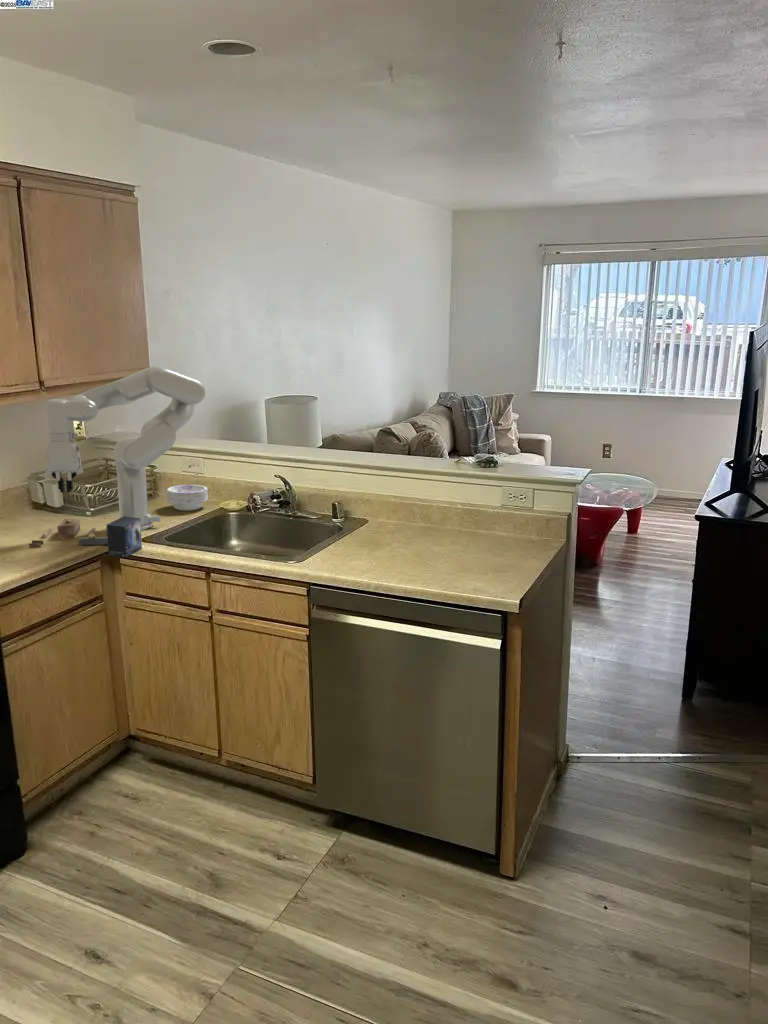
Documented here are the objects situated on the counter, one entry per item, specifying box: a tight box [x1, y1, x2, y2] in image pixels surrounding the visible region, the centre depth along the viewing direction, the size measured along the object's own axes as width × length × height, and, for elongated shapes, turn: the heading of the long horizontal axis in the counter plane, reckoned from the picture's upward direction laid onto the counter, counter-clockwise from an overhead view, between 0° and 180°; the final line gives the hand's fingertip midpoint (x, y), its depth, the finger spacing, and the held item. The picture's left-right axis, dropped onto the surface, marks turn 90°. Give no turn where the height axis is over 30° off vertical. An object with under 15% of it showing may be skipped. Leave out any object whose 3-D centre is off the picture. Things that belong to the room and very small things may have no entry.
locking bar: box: [78, 533, 108, 546], centre depth 255 cm, size 12×2×3 cm, turn 98°
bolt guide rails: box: [42, 527, 97, 539], centre depth 265 cm, size 16×7×1 cm, turn 98°
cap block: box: [57, 518, 81, 539], centre depth 265 cm, size 5×9×5 cm, turn 8°
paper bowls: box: [166, 484, 209, 512], centre depth 302 cm, size 15×15×8 cm
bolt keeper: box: [28, 539, 45, 548], centre depth 253 cm, size 4×4×1 cm
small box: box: [106, 516, 143, 559], centre depth 247 cm, size 11×6×10 cm, turn 168°
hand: (66, 491), depth 261 cm, fingers closed
